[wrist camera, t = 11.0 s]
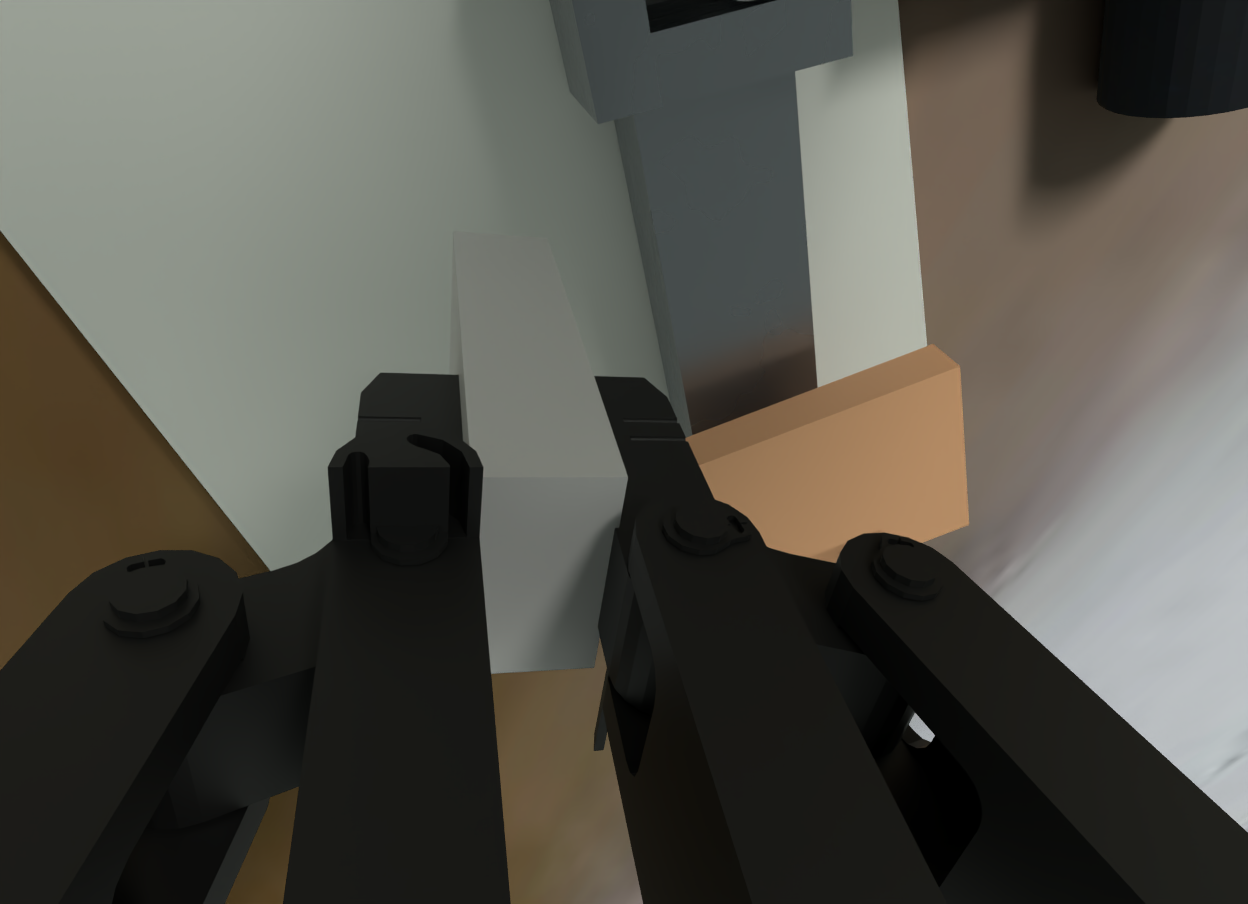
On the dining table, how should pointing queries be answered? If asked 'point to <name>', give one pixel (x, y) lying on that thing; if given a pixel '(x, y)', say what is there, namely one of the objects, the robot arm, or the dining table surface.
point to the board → (374, 210)
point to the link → (712, 180)
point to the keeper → (848, 458)
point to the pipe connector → (1174, 57)
